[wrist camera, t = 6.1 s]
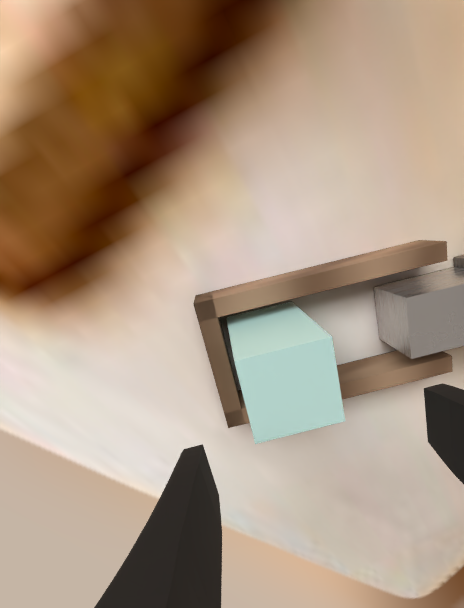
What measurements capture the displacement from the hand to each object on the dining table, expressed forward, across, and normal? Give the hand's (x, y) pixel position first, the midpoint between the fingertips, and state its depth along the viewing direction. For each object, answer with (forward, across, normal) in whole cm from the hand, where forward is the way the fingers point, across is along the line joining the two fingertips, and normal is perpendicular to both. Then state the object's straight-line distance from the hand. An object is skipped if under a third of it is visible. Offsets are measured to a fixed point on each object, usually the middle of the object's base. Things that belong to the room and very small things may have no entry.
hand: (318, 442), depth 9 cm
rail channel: (+9, -3, 0) cm, 9 cm away
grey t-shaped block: (+9, -10, 0) cm, 14 cm away
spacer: (+9, 0, 0) cm, 9 cm away
